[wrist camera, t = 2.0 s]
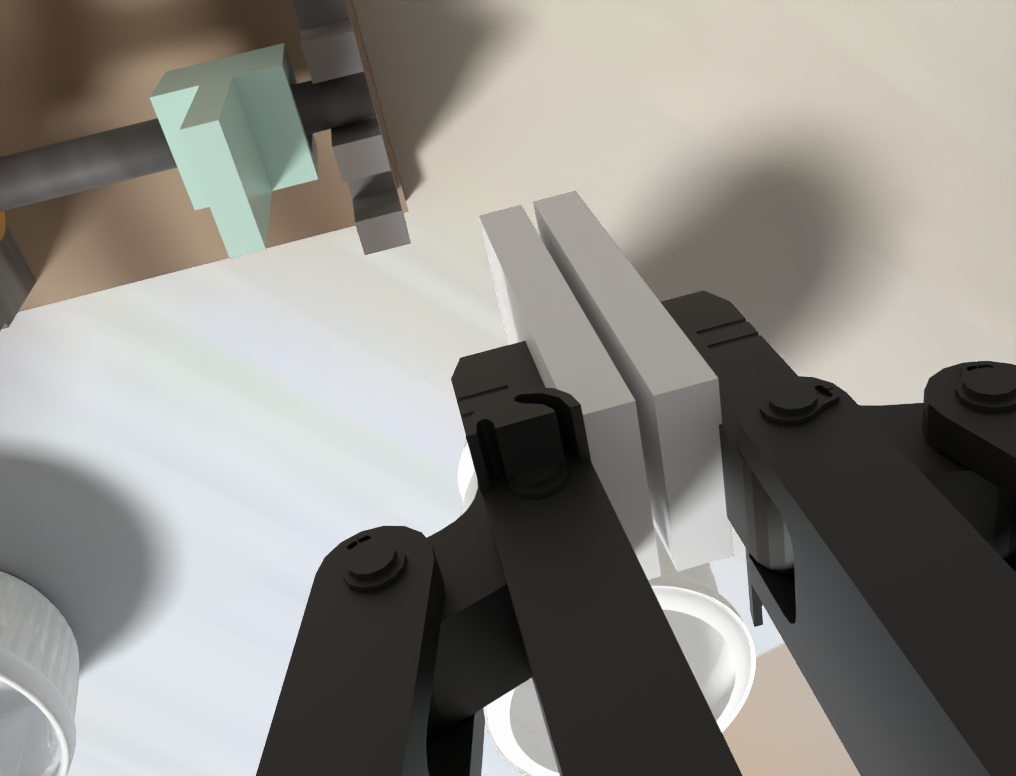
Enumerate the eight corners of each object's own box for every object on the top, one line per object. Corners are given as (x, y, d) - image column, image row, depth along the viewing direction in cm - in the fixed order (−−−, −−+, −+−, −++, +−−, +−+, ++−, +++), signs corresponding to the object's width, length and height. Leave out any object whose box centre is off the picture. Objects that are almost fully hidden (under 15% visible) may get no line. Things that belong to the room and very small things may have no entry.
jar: (415, 402, 43) (458, 634, 31) (626, 350, 44) (755, 556, 31) (459, 567, 49) (511, 822, 36) (646, 519, 50) (761, 752, 37)
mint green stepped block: (284, 42, 31) (276, 105, 23) (317, 147, 33) (319, 236, 25) (165, 71, 30) (120, 144, 23) (205, 175, 32) (175, 273, 25)
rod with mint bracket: (318, -122, 32) (321, -111, 26) (405, 201, 38) (425, 276, 32) (-264, 16, 31) (-418, 63, 24) (-75, 325, 37) (-158, 429, 31)
